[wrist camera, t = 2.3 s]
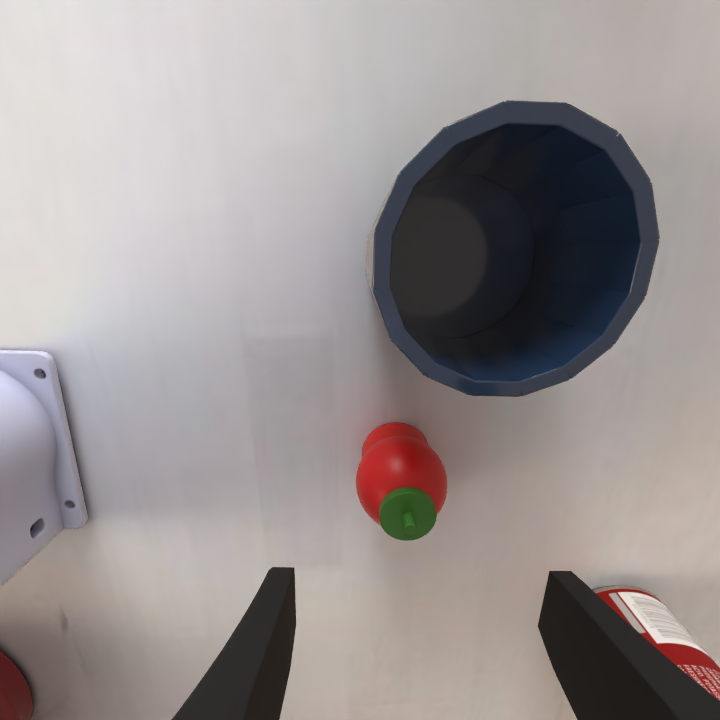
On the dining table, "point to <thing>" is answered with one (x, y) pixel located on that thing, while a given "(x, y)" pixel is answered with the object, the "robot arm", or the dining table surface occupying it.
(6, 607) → the dining table surface
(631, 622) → the soda can
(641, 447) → the dining table surface
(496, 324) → the tumbler
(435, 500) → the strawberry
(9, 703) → the kitchen canister
